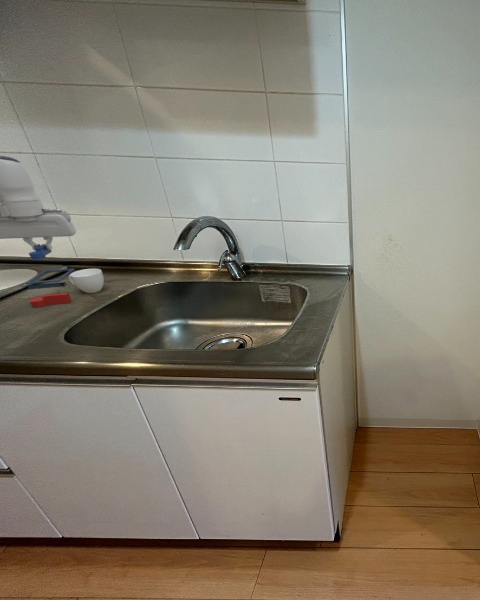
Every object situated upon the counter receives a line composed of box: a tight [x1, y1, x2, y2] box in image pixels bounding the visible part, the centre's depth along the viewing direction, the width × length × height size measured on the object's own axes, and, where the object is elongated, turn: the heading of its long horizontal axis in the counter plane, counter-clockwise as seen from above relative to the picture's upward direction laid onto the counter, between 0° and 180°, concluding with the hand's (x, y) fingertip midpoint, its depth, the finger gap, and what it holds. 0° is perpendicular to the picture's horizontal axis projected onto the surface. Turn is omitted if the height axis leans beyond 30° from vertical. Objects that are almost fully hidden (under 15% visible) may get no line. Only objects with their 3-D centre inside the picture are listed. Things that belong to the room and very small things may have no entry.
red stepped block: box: [29, 292, 73, 308], centre depth 96 cm, size 9×3×3 cm, turn 115°
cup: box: [68, 268, 105, 294], centre depth 105 cm, size 8×10×7 cm
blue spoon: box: [28, 243, 52, 261], centre depth 106 cm, size 9×3×3 cm, turn 25°
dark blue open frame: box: [25, 268, 75, 290], centre depth 110 cm, size 12×8×2 cm
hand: (43, 249), depth 107 cm, fingers closed on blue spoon
